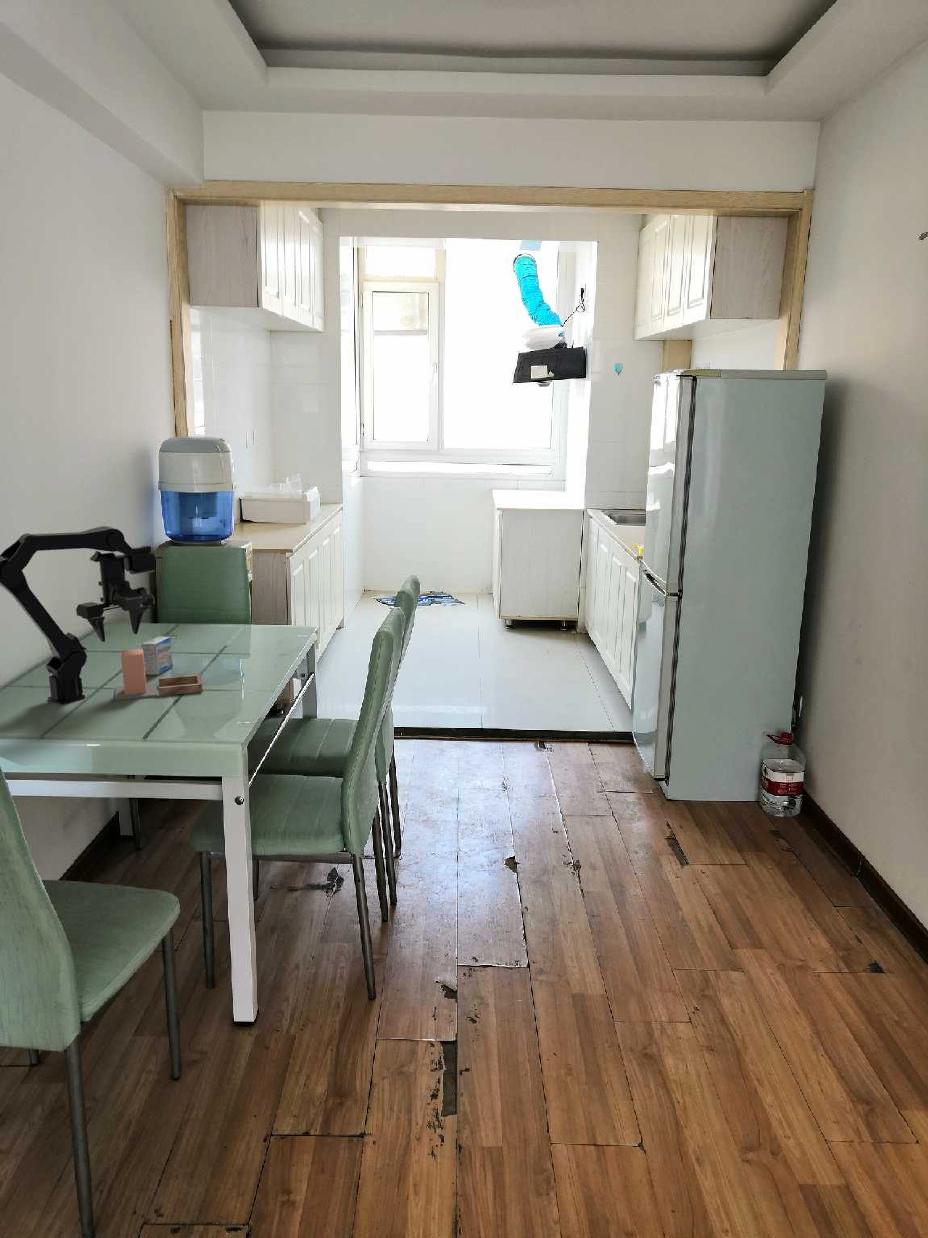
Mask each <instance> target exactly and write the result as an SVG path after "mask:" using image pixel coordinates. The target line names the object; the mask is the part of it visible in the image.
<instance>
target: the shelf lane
mask: <svg viewBox="0 0 928 1238" xmlns="http://www.w3.org/2000/svg"><path fill="white" fill-rule="evenodd" d="M157 691H158V697H161V696H171V695H173V694H175V695H182V694H192V693H193V694H194V693H204V691H203V679H202V674H201V673H200V674H188V675H177V676H164V677H158V686H157ZM173 696H174V695H173Z"/></svg>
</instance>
